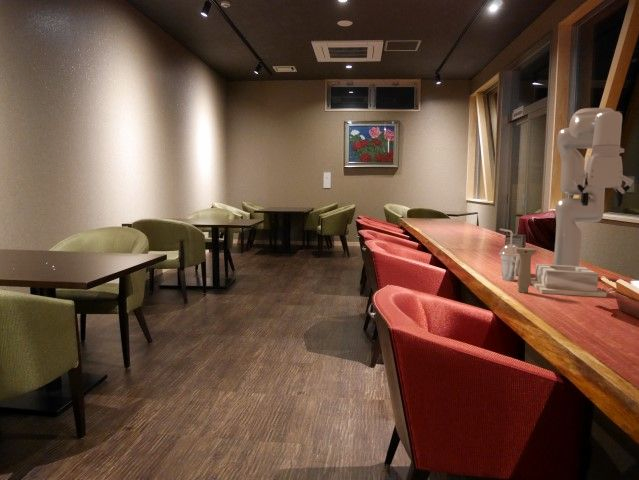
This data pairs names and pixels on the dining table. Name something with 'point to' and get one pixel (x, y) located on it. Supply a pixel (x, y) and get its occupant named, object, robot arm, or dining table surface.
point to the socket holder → (566, 280)
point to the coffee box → (516, 243)
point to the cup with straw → (509, 259)
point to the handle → (524, 268)
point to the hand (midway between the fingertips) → (601, 206)
